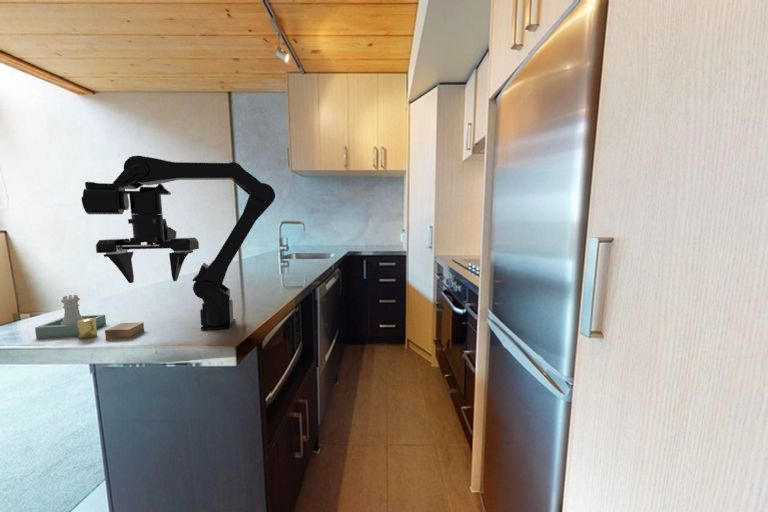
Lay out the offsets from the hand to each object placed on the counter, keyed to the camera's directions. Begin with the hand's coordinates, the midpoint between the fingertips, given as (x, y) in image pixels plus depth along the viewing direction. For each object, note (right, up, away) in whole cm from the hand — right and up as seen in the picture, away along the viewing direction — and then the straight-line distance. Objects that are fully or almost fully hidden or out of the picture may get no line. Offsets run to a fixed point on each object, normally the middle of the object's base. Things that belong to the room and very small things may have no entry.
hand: (153, 281), depth 73 cm
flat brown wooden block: (-6, -13, 0) cm, 14 cm away
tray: (-21, -12, +2) cm, 24 cm away
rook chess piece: (-21, -12, +2) cm, 24 cm away
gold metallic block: (-14, -13, -2) cm, 19 cm away
